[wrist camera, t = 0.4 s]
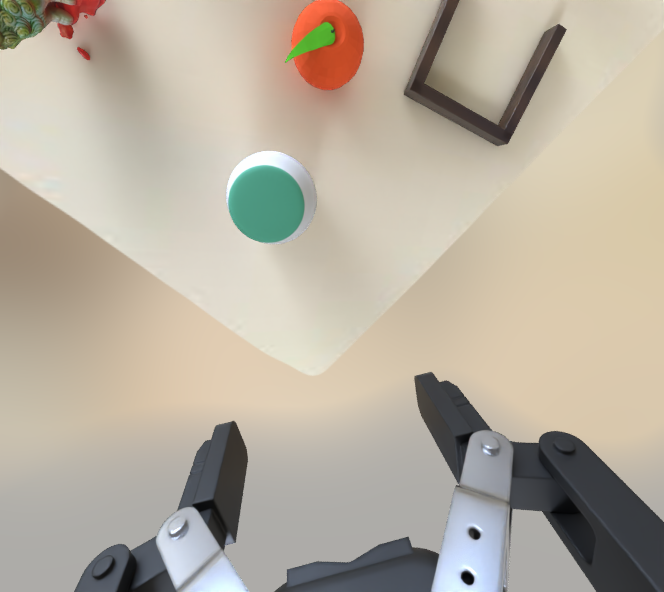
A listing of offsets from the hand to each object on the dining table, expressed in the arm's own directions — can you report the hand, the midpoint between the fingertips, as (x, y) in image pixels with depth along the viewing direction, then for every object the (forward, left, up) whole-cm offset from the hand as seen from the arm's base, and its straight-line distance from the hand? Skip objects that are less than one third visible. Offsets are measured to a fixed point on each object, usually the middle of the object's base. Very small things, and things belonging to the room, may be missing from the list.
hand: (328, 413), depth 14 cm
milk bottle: (-9, -1, -29) cm, 30 cm away
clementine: (-21, +7, -29) cm, 36 cm away
